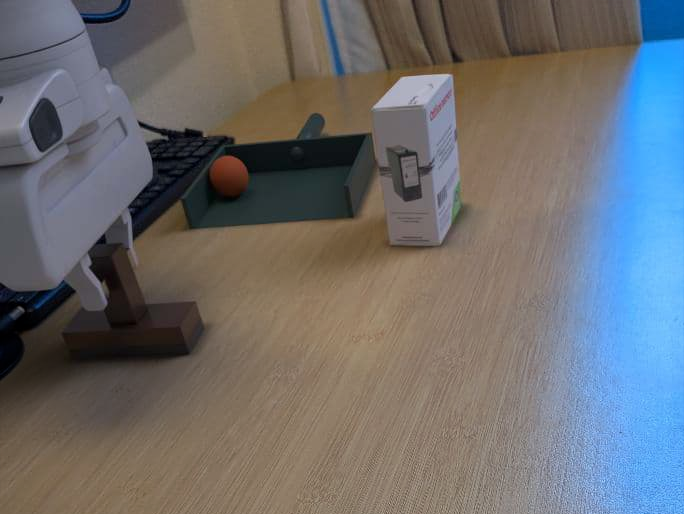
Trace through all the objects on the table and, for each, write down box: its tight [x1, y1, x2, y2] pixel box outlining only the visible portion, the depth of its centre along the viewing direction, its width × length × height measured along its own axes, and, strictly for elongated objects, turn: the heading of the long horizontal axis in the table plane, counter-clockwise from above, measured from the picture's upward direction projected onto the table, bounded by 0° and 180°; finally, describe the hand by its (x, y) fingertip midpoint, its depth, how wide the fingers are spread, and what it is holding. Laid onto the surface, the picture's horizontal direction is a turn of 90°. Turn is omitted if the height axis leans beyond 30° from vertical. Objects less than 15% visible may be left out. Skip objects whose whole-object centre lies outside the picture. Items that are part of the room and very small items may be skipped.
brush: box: [60, 243, 205, 360], centre depth 64 cm, size 10×4×8 cm, turn 82°
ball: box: [210, 156, 249, 197], centre depth 86 cm, size 4×4×4 cm
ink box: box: [370, 73, 462, 247], centre depth 72 cm, size 9×5×12 cm, turn 161°
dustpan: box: [180, 112, 377, 230], centre depth 89 cm, size 26×17×3 cm, turn 171°
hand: (113, 288), depth 63 cm, fingers open, 4 cm apart
